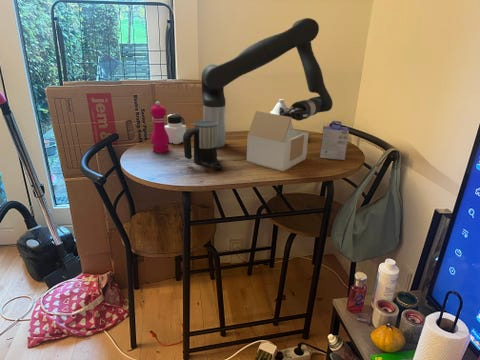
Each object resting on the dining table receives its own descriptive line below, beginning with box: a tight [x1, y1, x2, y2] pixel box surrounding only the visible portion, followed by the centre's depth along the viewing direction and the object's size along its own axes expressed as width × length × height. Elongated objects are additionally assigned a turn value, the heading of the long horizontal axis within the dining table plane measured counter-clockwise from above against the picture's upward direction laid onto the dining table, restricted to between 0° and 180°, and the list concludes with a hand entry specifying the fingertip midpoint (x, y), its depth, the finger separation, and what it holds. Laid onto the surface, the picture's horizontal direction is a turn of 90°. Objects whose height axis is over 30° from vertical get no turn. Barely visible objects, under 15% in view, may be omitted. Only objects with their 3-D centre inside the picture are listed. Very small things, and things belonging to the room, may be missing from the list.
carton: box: [246, 128, 310, 173], centre depth 135 cm, size 18×17×11 cm
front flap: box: [247, 110, 293, 142], centre depth 126 cm, size 9×15×1 cm
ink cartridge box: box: [319, 120, 350, 161], centre depth 140 cm, size 10×6×14 cm, turn 78°
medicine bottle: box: [164, 113, 187, 145], centre depth 155 cm, size 7×7×12 cm
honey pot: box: [269, 98, 294, 129], centre depth 165 cm, size 13×13×18 cm
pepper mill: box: [150, 101, 169, 153], centre depth 142 cm, size 7×7×20 cm
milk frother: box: [182, 120, 224, 171], centre depth 129 cm, size 14×16×15 cm
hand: (281, 116), depth 132 cm, fingers closed
